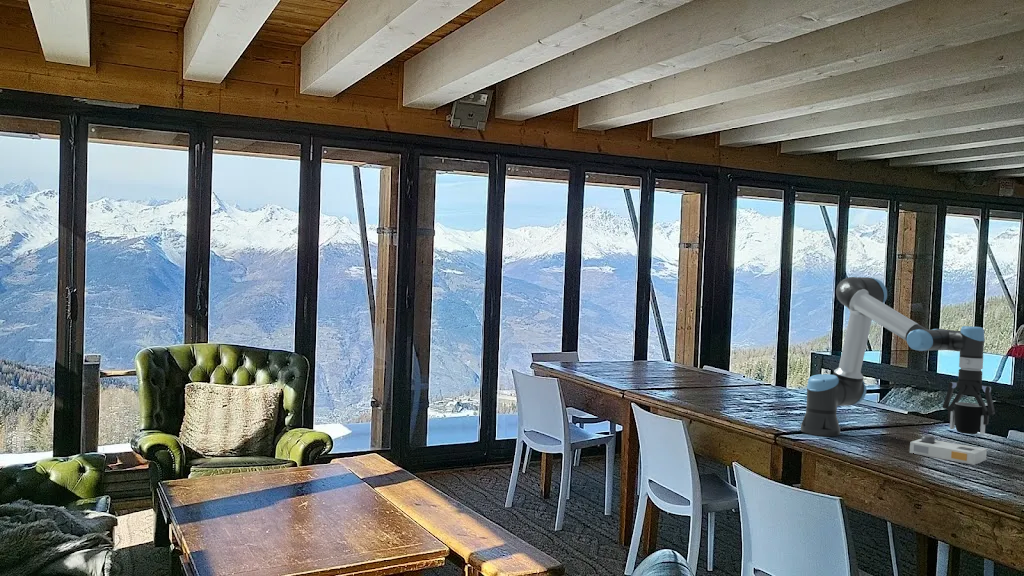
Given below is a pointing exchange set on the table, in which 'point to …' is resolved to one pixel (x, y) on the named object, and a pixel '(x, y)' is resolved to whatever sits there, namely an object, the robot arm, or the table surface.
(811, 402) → the robot arm
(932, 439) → the dark grey rounded piece
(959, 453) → the white rectangular box
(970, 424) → the mug
